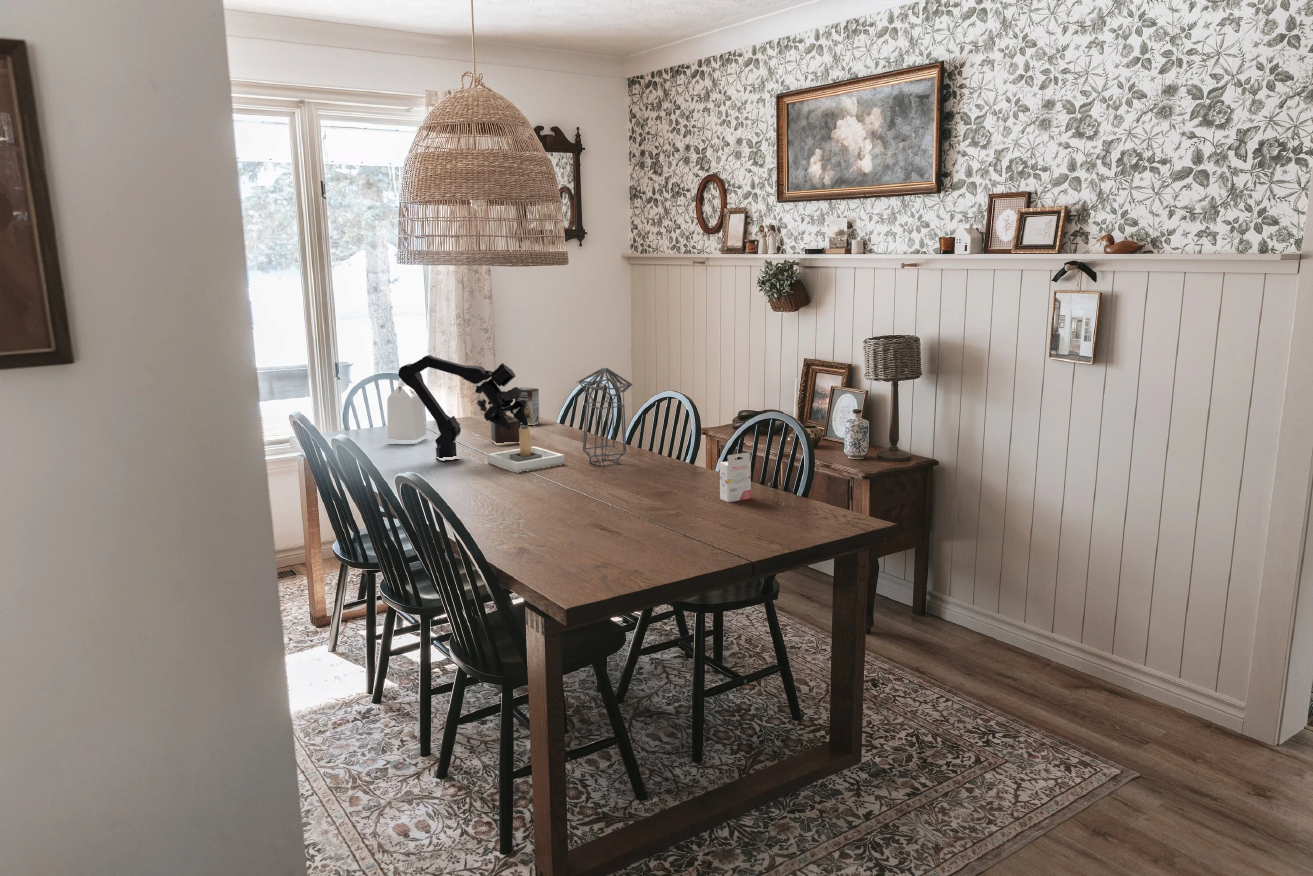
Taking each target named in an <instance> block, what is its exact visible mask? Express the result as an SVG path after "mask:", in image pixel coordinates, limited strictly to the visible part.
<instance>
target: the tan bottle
mask: <svg viewBox="0 0 1313 876" xmlns="http://www.w3.org/2000/svg"><path fill="white" fill-rule="evenodd" d="M531 438H532V436H531V427H529V426H525V425H521V428H519V440H520V444H519V449H520V457H528V456H531V447H532V443H531V442H532V439H531Z"/></svg>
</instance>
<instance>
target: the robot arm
mask: <svg viewBox="0 0 1313 876" xmlns="http://www.w3.org/2000/svg"><path fill="white" fill-rule="evenodd" d="M428 368H430V369H433V370H437V371H442V372H445V373H449V374H451V375H455V376H458V377H460V378H462V379H463V380H465V381H467V382H468V383H471V384H475V385H476V386H475V393H476V394H480V395H481V394H483V395H484V396H485V398H486V399H487V400H488V402H487V404H488V406H489V407H488V408H487V409H486V410H487V411H486V412H484V413H483V418H484V420H485V421H486V422H489V423H491V422H493V423H495V424H497V425H500V426H502V427H504V428H506V429H508V430H511V429H512V428H511V426H510V424H509V423H508V421H507V420H506V418H505V417H504V412H506V413H508V412H509V413H510V414H512V415H513V416H512V417H515V418H516V419H517V420H518V421H520V422H521V423H522V424H523V425H522V426H527V425H528V422H527V419H526V416H525V412H524V410H525V408H526V405H527V402H526V401H525V400H524V399H520V400H516V401H515V398H517V397H520V394H521V390H520V389H519V388H520V387H518V386H514V387H513V388H511V389H509V390H507V391H505V390H502V389H500V387H501V386H502V387H506V386H507V385H508V384H509V383H510V382H511V381H512V380H514V379H515V378H516V374H515V372H514V371H513V370H512V368H510V367H509V366H507V364H505V363H503V362H502V363H500V364H499V365H498V367H497V368H495V369H494V371H492V370H487V369H485V367H483V366H481V365H473V364H471V365H470V364H469V365H467V364H460V363H457V362H453V361H450V360H447V359H442V358H439V357H435V356H433V355H431V354H429V355H428V354H427V355H425V356H423V357H422V358H421V359H419V360H417V361H414V362H413V363H407V364H404V365H402V366H401V367H399V370H398V373H397V375H398V377H399V379H401V380H402V381H403V382H404V383H405V384H406V385H408V386H409V387H410V388H412V389H413V390H414V391H415V392H416V394H417V395H418V397H419V398H420V399H421V401H422V402H423V406H425V408H426V409H427V410H428V412H429V413H430V415H431V417H433V419H434V420H435V422H436V425H437V428H438V431H439V434H440V435H439V436H438V437H437V438H436V439H435V440H434V442H435V444H436V448H435V453H436V457H439V458H443V457H453V456H458V455H457V454H458V453H457V443H456V440H457V437H459V436H460V434H461V431H462V428H461V427H460V425H461V423H459V421H458V420H457V418H456V417H455V415H453V416H451V417H450V416H449V415H447V413H446V411H444V409H443V408H442V406H441V405H440V404H439V401H437V399H436V398H435V396H434V395H433V394H432V392H431V391H430V390H429V388H428V386H427V385H426V384H425V382H424V379H423V375H422V373H421V372H423V371H424V370H425V369H428ZM480 383H481V384H480ZM477 384H480V385H477ZM436 457H435V458H436Z"/></svg>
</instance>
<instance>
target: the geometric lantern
mask: <svg viewBox="0 0 1313 876" xmlns="http://www.w3.org/2000/svg"><path fill="white" fill-rule="evenodd" d="M605 376H606V377H605ZM604 377H605V379H604ZM589 378H590V379H589ZM588 379H589V380H588ZM586 380H587V381H586ZM610 381H611V382H612V383H613V385H614V386H615V387H610ZM603 382H604V384H603ZM576 383H578V384H579V385H580V386H581V388H582V389H583V391H584V393H583V394H586V395H587V398H586V399H587V400H586V403H584V405H585V409H584V423H583V424H584V427H583V439H582V441H583V443H582V451H583V453H585V454H586V455H587V456H588V457H589V461H588V464H591V463H592V464H591V465H594V464H595V465H594V466H597V465H598V466H597V467H607V466H606V465H608V466H613V465H618V464H619V459H620V458H621V457H622V456H624V455H625V454H626V453H627V438H626V437H627V434H626V412H625V411H626V409H625V407H626V406H625V395H624V393H625V392H626V391H627V390H628V389H630V388H631V387H632V386H633V383H632V382H630V381H628V380H627V379H625V378H623V377H622V376H620V375H619V374H617V373H615V372H614V371H612V370H611V369H610V368H608V367H601V368H600V369H598V370H596V371H594V372H593V373H591V374H589V375H587V376H585V377H584V378H582V379H580V380H578V381H577V382H576ZM594 383H596V385H594ZM602 384H603V385H602ZM606 385H607V386H606ZM619 385H620V386H619ZM589 389H591V390H589ZM605 389H608V391H607V390H605ZM611 390H615V393H613V394H611ZM594 391H601V392H602V393H603V395H604V396H605V397H606V400H601V401H594V398H593V396H592V393H594ZM621 393H622V399H623V400H622V401H623V404H622V402H621V400H620V397H619V394H621ZM607 395H608V396H607ZM610 397H613V398H612V400H610ZM616 398H617V401H618V402H616V401H614V400H615V399H616ZM590 399H591V401H590ZM596 403H598V404H599V403H603V404H602V405H601V407H599V406H597V405H596ZM606 403H607V406H606V407H603V406H604V405H605V404H606ZM610 403H611V406H610ZM591 404H593V405H591ZM614 404H617V406H614ZM618 405H619V406H618ZM590 407H591V408H593V409H595V427H594V428H595V429H594V430H595V431H594V446H591V447H590V446H589V447H587V441H588V440H587V437H588V429H589V427H588V425H589V417H590V415H589V413H590ZM615 408H620V414H621V415H620V417H621V418H620V419H621V420H620V421H621V433H622V437H621V438H622V447H623V449H622V448H619V447H617V446H615V414H614V409H615ZM603 409H604V410H605V409H607V414H606V415H607V416H606V433H605V434H606V435H605V436H606V439H605V445H604V442H603V441H604V437H603V436H604V435H603ZM610 409H611V418H612V419H611V420H612V445H609V444H608V439H609V438H608V436H609V419H610V418H609V416H610V414H609V413H610ZM599 410H600V437H601V438H600V440H601V441H600V442H601V444H600V445H599V446H597V436H598V435H597V434H598V433H597V431H598V411H599ZM607 447H609V448H610V450H609V451H608V452H607ZM598 448H601V454H597V449H598ZM613 448H614V449H617V450H620V451H622V452H620V453H611V451H612V450H613ZM591 449H594V453H592V452H590V451H588V450H591ZM604 449H605V451H604ZM599 457H601V459H599ZM606 457H607V458H606ZM609 457H614V458H611V459H609ZM592 459H593V460H592ZM607 459H608V460H607ZM600 460H601V461H600ZM610 460H611V461H610ZM594 461H595V462H599V464H597V463H594ZM608 461H610V462H613V461H614V463H609V464H605V463H604V462H608ZM601 462H602V463H601ZM616 462H617V463H616ZM601 464H602V465H601ZM612 464H613V465H612Z"/></svg>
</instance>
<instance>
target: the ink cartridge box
mask: <svg viewBox="0 0 1313 876" xmlns="http://www.w3.org/2000/svg"><path fill="white" fill-rule="evenodd" d="M738 457H739V459H738ZM740 458H741V459H740ZM751 465H752V464H751V452H744V453H743V452H742V453H736V454H729V455H727V461H721V462H719V499H720V500H722V501H724V502H726V503H732V502H737V501H744V500H745V501H746V500H750V499H751V498H752V487H751V486H752V484H751V483H752V482H751V478H752V472H751V471H752V468H751V467H752V466H751Z"/></svg>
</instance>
